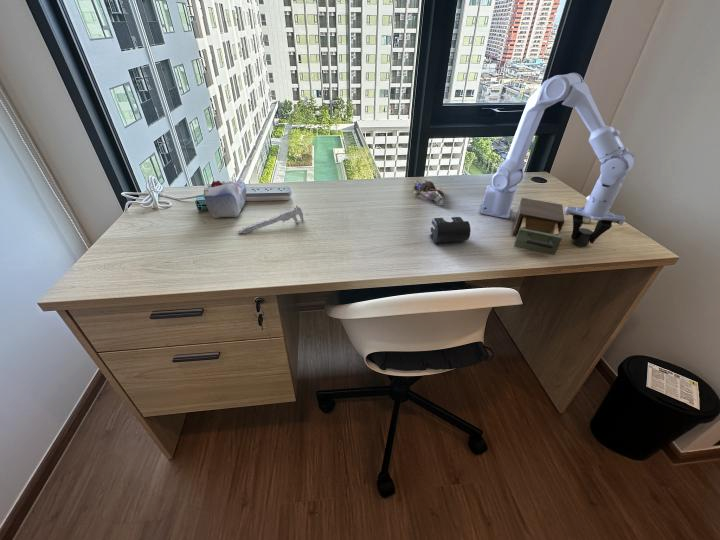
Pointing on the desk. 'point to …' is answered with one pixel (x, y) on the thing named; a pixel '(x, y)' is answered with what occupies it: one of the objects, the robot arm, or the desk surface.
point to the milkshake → (585, 220)
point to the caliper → (275, 219)
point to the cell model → (225, 198)
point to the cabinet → (539, 212)
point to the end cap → (450, 230)
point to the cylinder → (583, 237)
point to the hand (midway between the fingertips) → (581, 240)
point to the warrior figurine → (429, 191)
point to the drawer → (538, 236)
